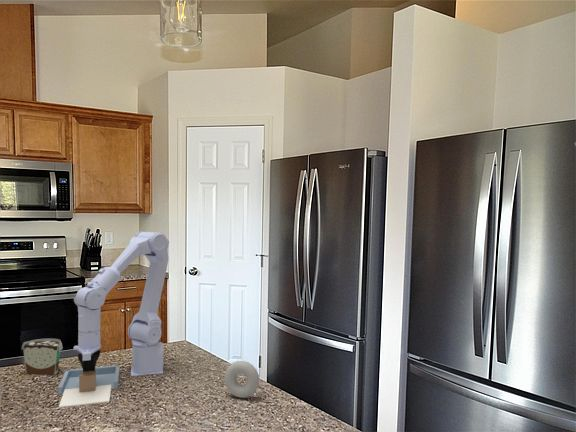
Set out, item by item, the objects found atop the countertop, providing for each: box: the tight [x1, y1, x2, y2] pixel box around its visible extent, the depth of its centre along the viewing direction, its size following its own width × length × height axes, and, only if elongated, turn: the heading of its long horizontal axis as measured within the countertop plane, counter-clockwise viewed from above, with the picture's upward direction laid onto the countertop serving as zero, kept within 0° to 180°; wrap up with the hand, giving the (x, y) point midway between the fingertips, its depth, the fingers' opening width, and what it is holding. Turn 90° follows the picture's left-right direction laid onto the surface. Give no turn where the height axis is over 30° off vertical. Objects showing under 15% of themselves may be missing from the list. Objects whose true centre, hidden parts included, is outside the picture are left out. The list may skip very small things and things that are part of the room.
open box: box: [57, 364, 121, 396], centre depth 133 cm, size 15×14×2 cm
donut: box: [224, 360, 260, 399], centre depth 124 cm, size 10×3×10 cm, turn 74°
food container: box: [21, 338, 64, 376], centre depth 142 cm, size 12×6×10 cm, turn 84°
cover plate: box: [58, 371, 112, 409], centre depth 122 cm, size 12×10×5 cm
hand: (89, 378), depth 128 cm, fingers closed
